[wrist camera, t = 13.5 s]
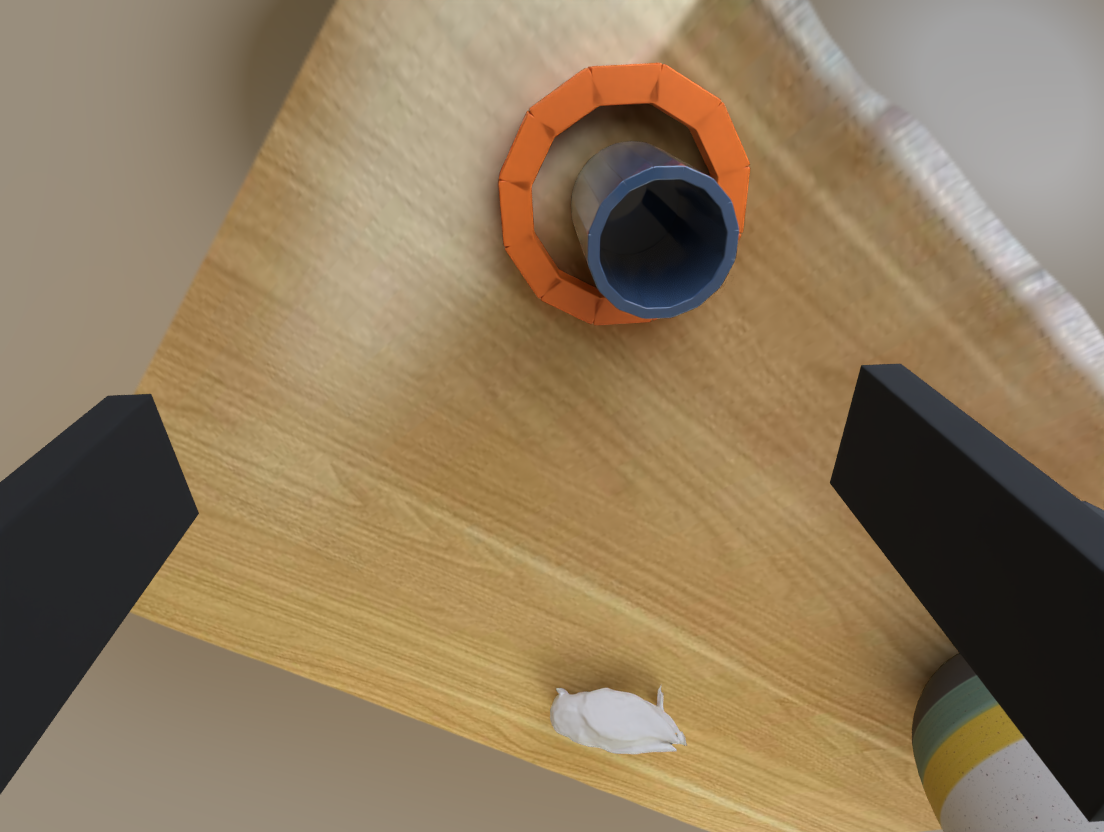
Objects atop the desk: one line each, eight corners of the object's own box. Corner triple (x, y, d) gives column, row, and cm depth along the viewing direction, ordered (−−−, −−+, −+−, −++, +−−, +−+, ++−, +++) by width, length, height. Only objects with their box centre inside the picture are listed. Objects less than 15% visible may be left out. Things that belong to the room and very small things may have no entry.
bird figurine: (656, 653, 52) (544, 686, 49) (692, 733, 47) (570, 774, 44) (649, 680, 55) (544, 712, 53) (683, 758, 50) (568, 797, 48)
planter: (908, 759, 59) (1083, 1071, 41) (835, 656, 51) (1014, 991, 32) (1116, 680, 54) (1423, 994, 36) (1074, 551, 46) (1447, 875, 27)
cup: (570, 142, 30) (588, 167, 22) (689, 139, 30) (749, 163, 22) (570, 261, 33) (586, 321, 25) (679, 258, 33) (728, 316, 25)
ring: (490, 71, 28) (488, 72, 27) (751, 58, 28) (763, 57, 27) (511, 320, 34) (510, 330, 33) (725, 307, 35) (733, 317, 33)
